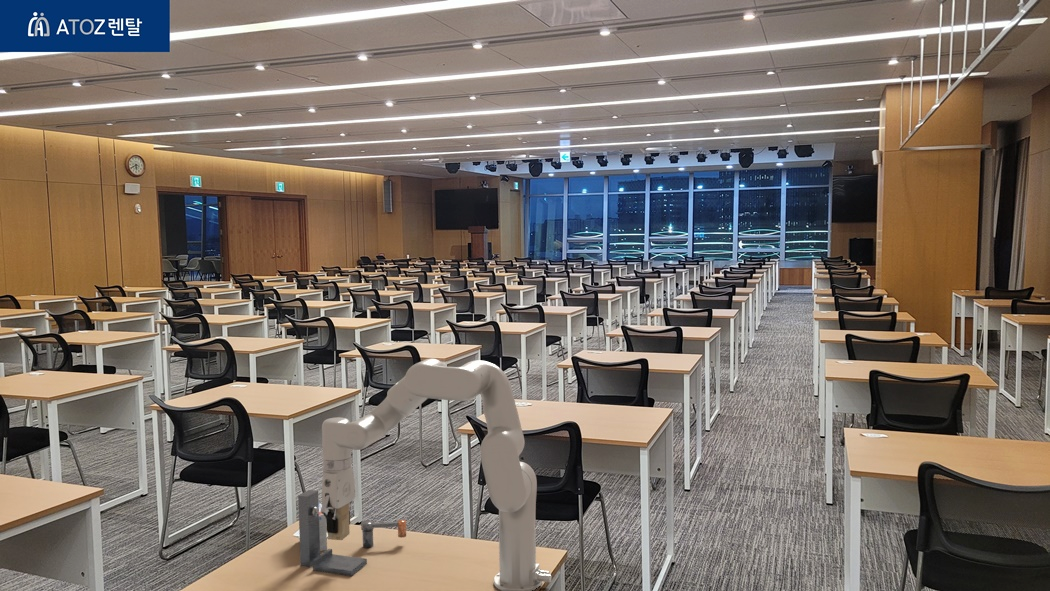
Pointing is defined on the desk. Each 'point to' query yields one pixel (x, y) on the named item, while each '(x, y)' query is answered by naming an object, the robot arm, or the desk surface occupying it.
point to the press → (312, 541)
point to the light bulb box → (322, 530)
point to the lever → (371, 525)
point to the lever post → (367, 539)
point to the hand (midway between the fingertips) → (338, 527)
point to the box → (341, 523)
